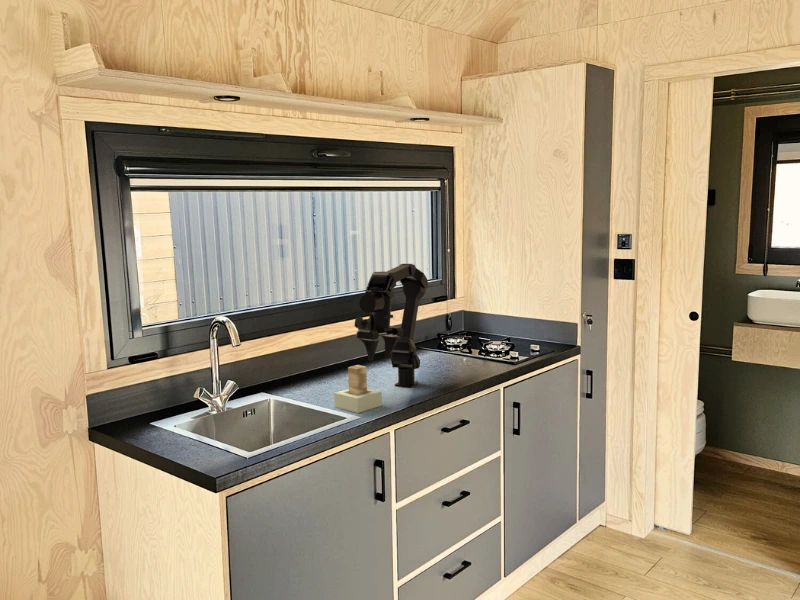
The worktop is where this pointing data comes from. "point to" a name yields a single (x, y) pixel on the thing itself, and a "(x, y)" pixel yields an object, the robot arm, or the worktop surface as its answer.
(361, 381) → the peg
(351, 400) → the socket block
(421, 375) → the worktop surface
